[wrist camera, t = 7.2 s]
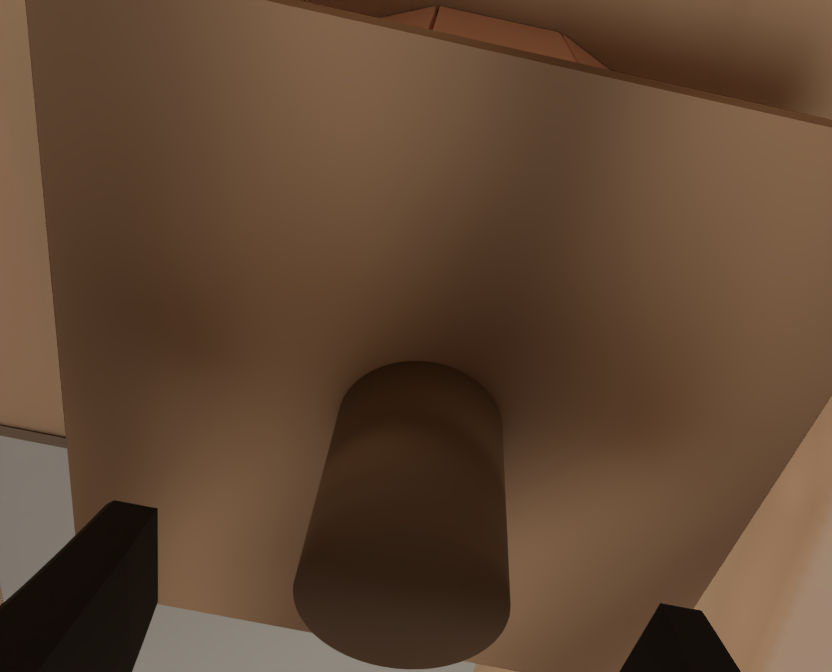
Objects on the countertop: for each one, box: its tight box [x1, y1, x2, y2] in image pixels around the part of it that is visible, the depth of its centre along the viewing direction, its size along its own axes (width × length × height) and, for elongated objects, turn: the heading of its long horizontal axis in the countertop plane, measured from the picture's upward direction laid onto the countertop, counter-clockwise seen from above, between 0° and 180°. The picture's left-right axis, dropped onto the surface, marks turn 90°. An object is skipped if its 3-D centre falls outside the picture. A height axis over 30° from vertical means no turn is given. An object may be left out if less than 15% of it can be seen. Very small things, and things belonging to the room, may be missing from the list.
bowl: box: [381, 6, 609, 70], centre depth 16 cm, size 13×13×4 cm
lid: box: [25, 0, 832, 672], centre depth 12 cm, size 14×14×5 cm
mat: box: [0, 426, 476, 672], centre depth 26 cm, size 17×17×1 cm
